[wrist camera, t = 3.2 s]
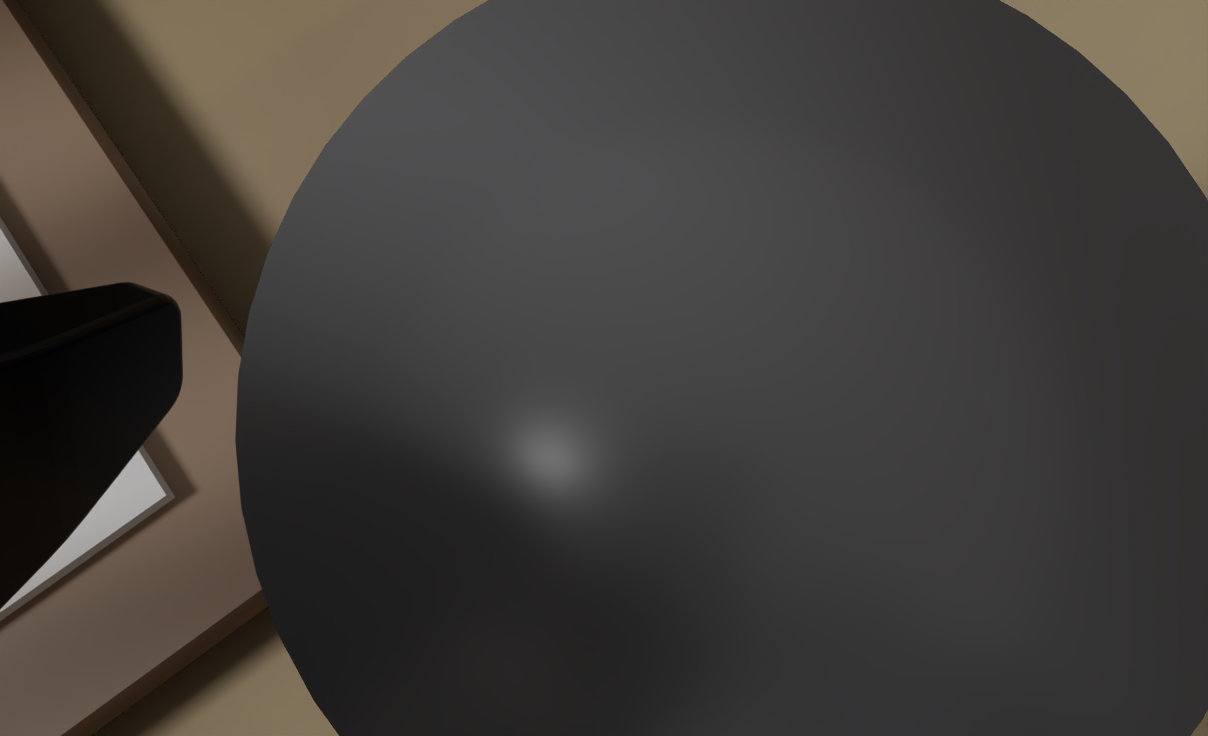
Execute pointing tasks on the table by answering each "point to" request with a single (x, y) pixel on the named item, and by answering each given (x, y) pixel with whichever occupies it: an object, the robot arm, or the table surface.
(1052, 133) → the grey tall rounded piece
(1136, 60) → the table surface
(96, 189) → the mount board
